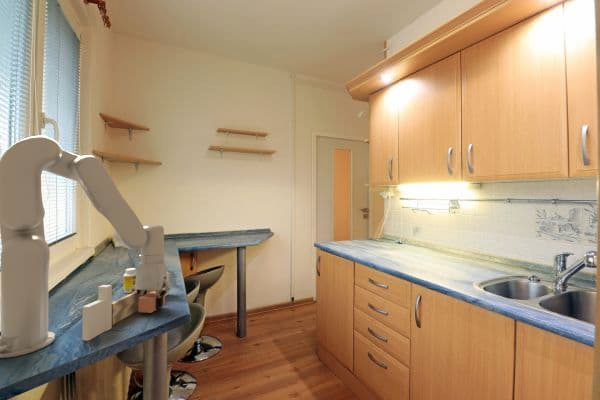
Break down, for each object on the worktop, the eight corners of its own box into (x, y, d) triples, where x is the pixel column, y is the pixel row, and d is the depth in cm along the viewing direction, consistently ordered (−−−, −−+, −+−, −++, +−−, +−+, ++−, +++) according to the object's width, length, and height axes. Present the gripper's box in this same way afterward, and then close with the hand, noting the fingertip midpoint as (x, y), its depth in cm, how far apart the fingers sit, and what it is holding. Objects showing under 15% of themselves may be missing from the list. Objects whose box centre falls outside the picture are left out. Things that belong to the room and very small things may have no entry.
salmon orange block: (151, 312, 98) (151, 298, 98) (138, 311, 99) (138, 298, 99) (164, 304, 106) (165, 291, 106) (152, 303, 107) (153, 290, 107)
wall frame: (89, 340, 81) (90, 293, 81) (80, 340, 82) (81, 293, 82) (169, 294, 121) (169, 262, 121) (163, 294, 121) (163, 262, 121)
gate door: (110, 326, 90) (110, 305, 90) (106, 326, 90) (106, 305, 90) (155, 300, 113) (155, 283, 113) (152, 300, 113) (152, 283, 113)
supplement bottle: (133, 293, 122) (133, 270, 122) (120, 293, 121) (120, 270, 121) (140, 289, 127) (140, 267, 127) (127, 289, 127) (127, 267, 127)
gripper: (124, 259, 100) (123, 309, 100) (167, 261, 98) (167, 312, 98) (138, 255, 107) (138, 302, 107) (179, 257, 105) (179, 304, 105)
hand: (152, 306), depth 103 cm, fingers closed on salmon orange block, 5 cm apart
